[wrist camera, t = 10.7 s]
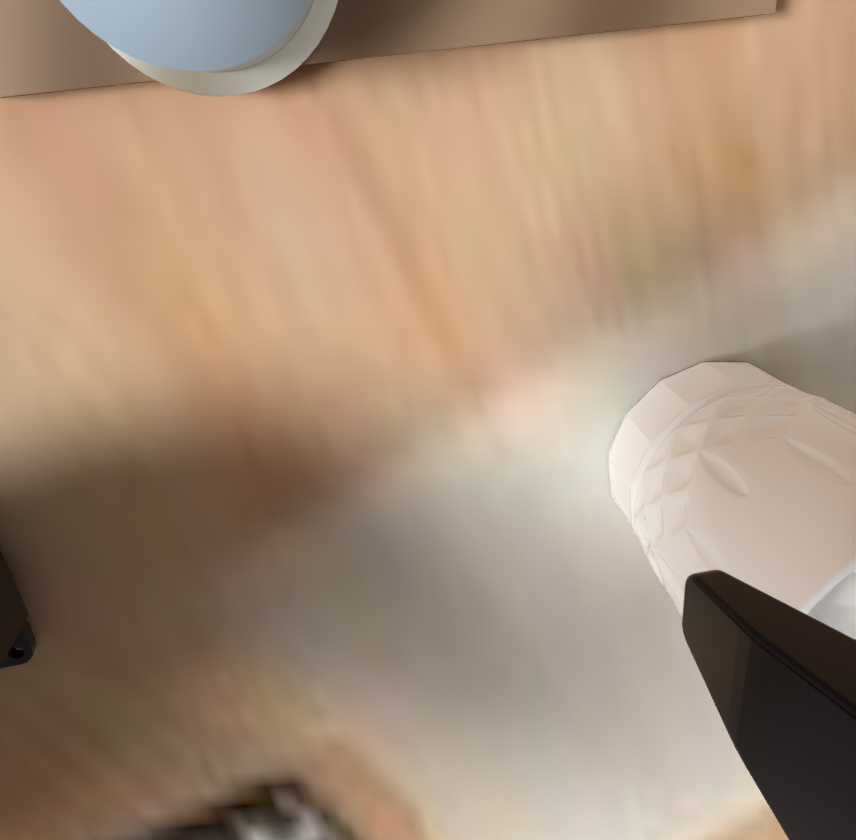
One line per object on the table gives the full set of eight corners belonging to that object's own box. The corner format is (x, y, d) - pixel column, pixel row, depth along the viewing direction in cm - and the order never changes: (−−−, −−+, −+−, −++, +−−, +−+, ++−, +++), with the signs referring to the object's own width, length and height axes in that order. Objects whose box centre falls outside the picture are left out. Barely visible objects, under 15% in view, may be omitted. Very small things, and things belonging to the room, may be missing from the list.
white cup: (644, 316, 22) (877, 478, 13) (848, 370, 24) (1170, 541, 15) (555, 528, 25) (696, 778, 16) (744, 560, 27) (962, 798, 18)
